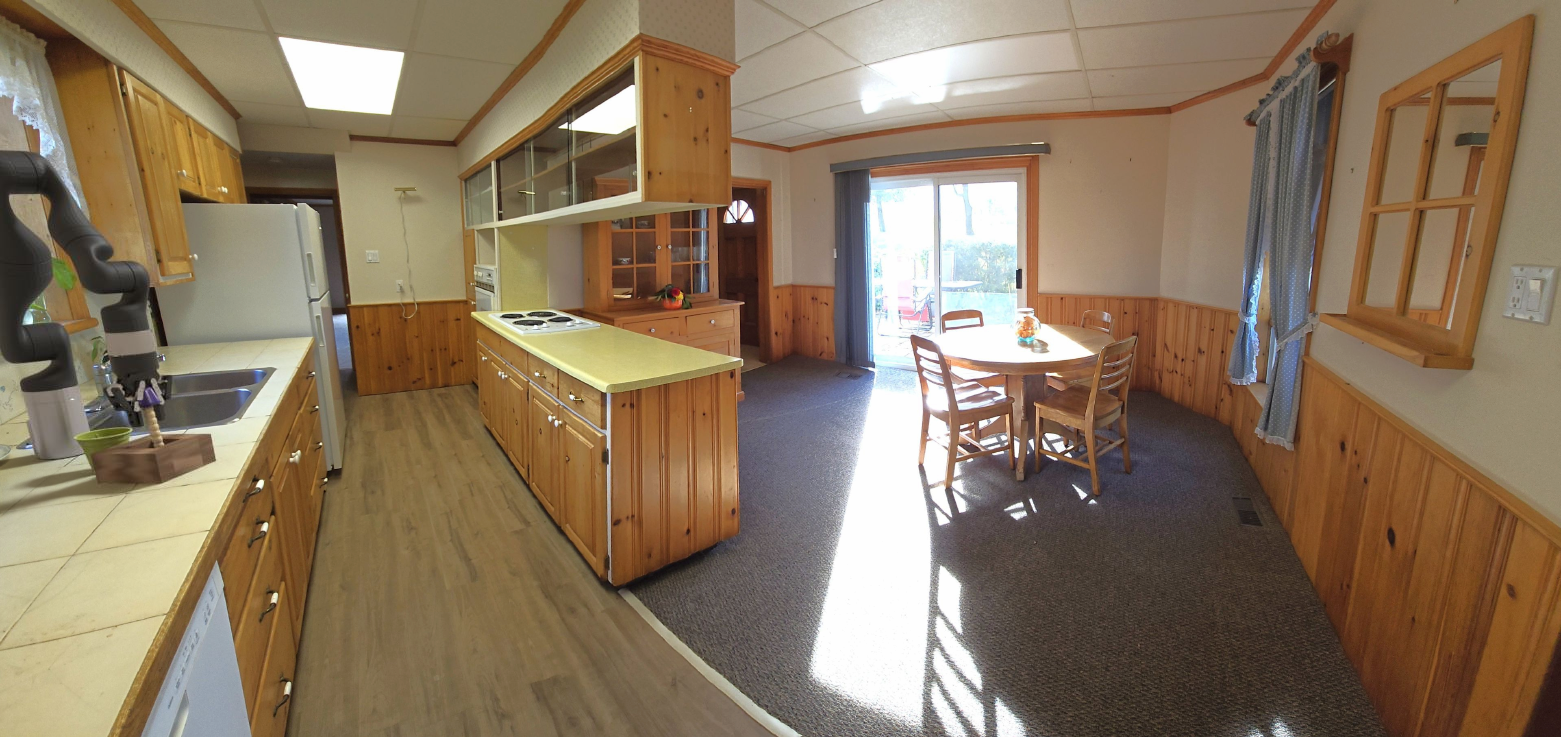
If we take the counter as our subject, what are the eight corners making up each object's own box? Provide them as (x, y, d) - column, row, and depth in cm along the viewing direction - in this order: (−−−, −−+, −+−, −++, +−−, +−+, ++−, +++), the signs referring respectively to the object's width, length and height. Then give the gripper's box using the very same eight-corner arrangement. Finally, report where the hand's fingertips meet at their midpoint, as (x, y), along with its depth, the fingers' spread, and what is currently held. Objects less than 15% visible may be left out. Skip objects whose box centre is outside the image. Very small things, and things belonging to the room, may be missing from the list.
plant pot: (129, 458, 153) (121, 425, 151) (147, 464, 149) (139, 430, 147) (75, 471, 145) (66, 436, 143) (93, 477, 141) (84, 441, 139)
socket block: (97, 483, 138) (90, 454, 136) (157, 461, 151) (151, 434, 150) (161, 483, 138) (155, 453, 136) (216, 460, 152) (210, 433, 150)
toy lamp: (155, 461, 141) (138, 391, 138) (139, 459, 142) (122, 390, 138) (179, 453, 146) (163, 385, 142) (163, 452, 147) (147, 384, 143)
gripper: (146, 345, 145) (161, 415, 149) (80, 357, 131) (99, 433, 135) (178, 345, 145) (193, 414, 149) (116, 357, 132) (134, 433, 135)
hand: (148, 423), depth 142 cm, fingers closed on toy lamp, 4 cm apart
